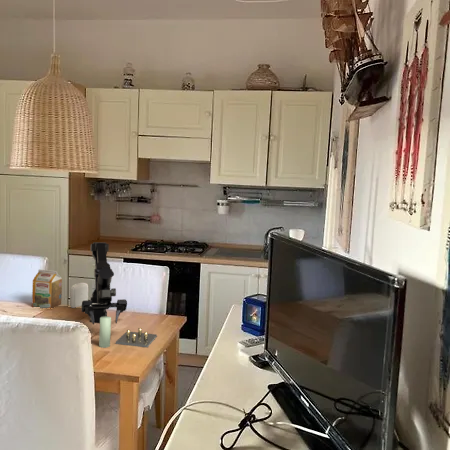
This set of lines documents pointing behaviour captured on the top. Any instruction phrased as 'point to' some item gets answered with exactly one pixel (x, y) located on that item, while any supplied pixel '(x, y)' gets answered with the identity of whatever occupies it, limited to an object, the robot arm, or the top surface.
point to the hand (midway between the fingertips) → (105, 323)
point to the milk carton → (47, 289)
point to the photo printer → (78, 294)
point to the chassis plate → (136, 338)
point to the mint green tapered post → (105, 331)
